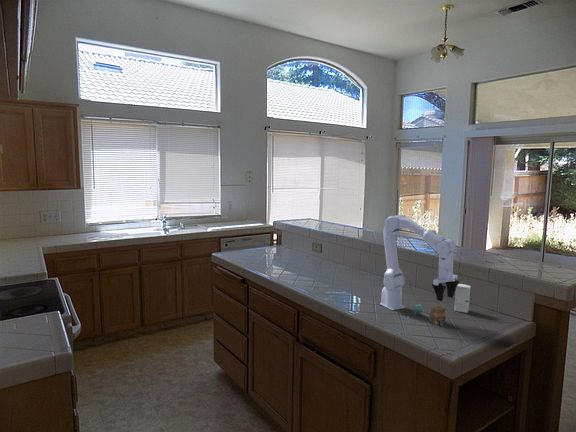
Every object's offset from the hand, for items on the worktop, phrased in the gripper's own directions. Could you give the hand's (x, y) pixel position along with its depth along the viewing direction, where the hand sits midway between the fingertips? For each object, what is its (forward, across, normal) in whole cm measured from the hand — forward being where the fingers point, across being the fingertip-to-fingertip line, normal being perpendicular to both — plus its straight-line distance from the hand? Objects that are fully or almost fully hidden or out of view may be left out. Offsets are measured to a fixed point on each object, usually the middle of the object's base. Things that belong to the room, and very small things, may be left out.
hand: (445, 298), depth 165 cm
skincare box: (+11, +19, +4) cm, 22 cm away
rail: (+10, -2, +6) cm, 12 cm away
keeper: (+10, -3, +2) cm, 11 cm away
